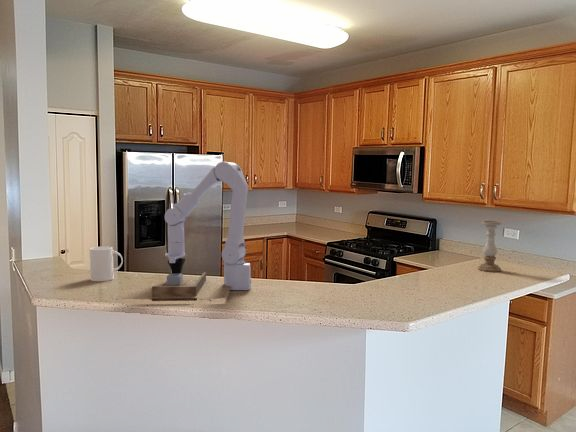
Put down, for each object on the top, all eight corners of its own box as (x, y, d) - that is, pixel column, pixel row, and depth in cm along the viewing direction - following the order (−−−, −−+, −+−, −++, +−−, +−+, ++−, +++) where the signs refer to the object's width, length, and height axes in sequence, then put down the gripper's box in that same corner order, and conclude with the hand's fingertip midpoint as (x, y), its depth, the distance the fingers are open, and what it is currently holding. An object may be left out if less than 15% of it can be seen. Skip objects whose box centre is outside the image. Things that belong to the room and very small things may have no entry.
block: (182, 281, 162) (182, 273, 161) (179, 284, 157) (179, 276, 157) (169, 281, 161) (169, 273, 161) (166, 284, 157) (166, 276, 157)
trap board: (206, 284, 164) (205, 272, 163) (196, 300, 143) (195, 286, 143) (167, 284, 163) (167, 272, 163) (152, 300, 143) (151, 286, 142)
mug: (125, 275, 178) (124, 245, 177) (120, 280, 169) (119, 249, 168) (93, 276, 176) (92, 246, 175) (87, 282, 167) (86, 250, 166)
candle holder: (504, 272, 184) (507, 222, 183) (483, 272, 185) (485, 222, 183) (495, 267, 193) (497, 220, 191) (474, 267, 193) (476, 220, 191)
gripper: (169, 238, 168) (170, 274, 170) (159, 244, 154) (160, 284, 155) (188, 238, 169) (189, 274, 170) (180, 244, 154) (181, 283, 155)
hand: (177, 279), depth 163 cm, fingers closed
